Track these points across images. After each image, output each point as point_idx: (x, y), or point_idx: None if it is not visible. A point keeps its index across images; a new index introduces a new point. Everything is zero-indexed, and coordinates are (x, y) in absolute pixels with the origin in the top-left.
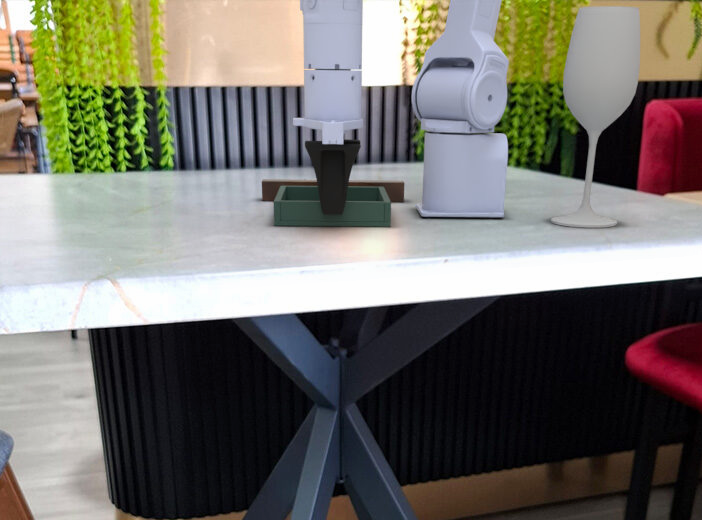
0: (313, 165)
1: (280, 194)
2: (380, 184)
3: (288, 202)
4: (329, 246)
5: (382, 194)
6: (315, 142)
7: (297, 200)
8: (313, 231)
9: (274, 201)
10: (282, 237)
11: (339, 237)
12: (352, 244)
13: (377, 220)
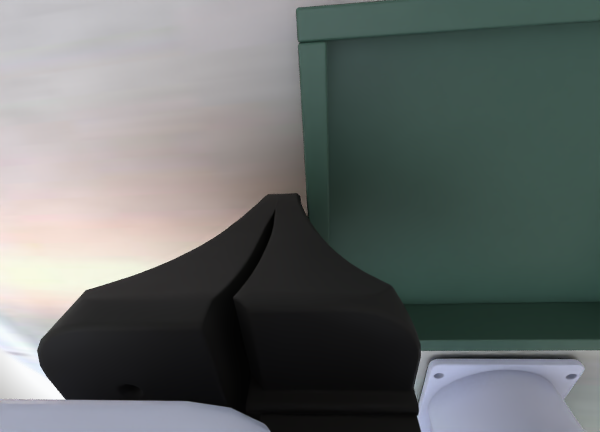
0: (167, 263)
1: (555, 10)
2: None
3: (301, 81)
4: (32, 202)
5: (476, 342)
6: (62, 379)
7: None
8: (224, 155)
9: (296, 12)
10: (96, 75)
11: (155, 218)
12: (80, 243)
13: None
